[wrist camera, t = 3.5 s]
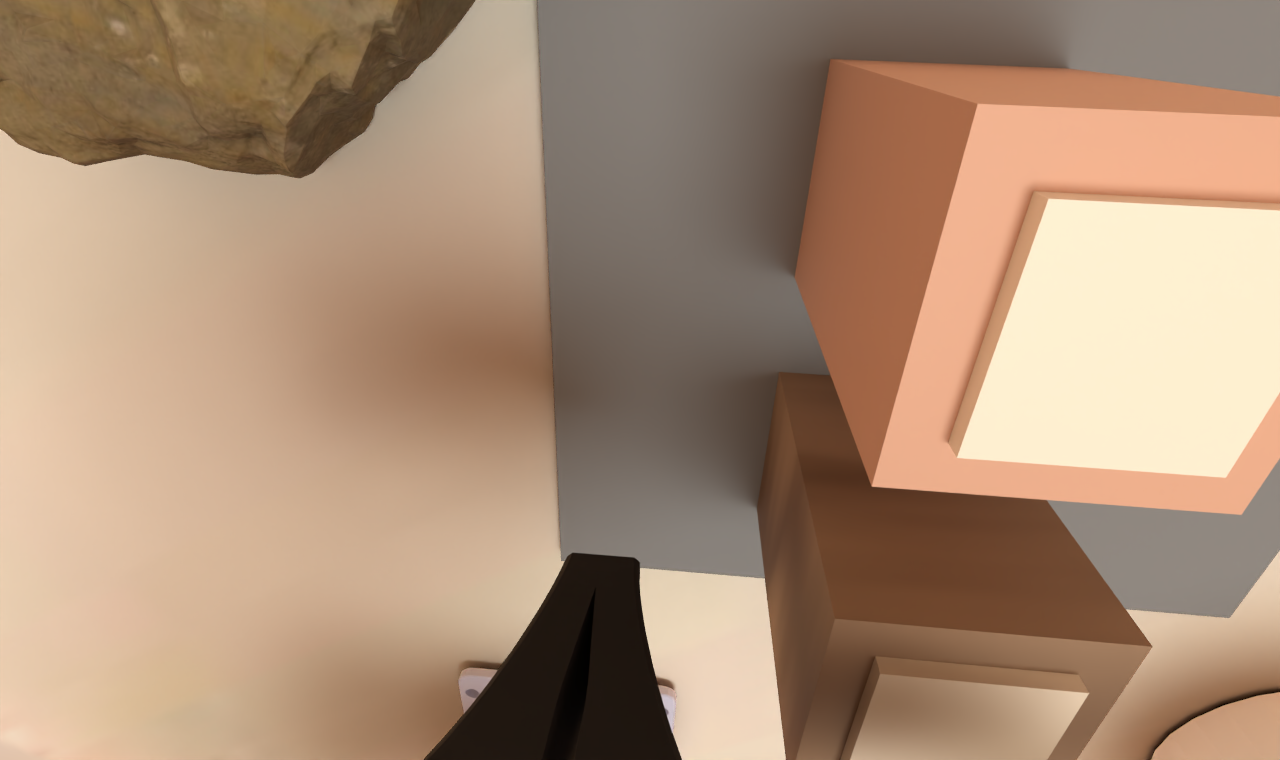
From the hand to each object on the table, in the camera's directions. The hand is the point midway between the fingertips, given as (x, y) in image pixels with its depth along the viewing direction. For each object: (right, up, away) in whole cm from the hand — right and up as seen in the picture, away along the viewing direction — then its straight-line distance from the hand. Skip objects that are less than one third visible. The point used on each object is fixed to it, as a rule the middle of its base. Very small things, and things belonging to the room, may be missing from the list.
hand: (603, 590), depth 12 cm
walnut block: (+6, +2, +4) cm, 8 cm away
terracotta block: (+7, +8, +1) cm, 11 cm away
